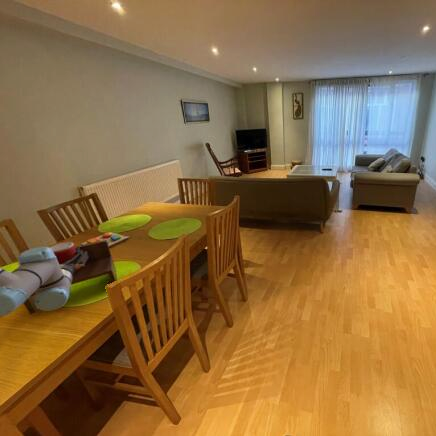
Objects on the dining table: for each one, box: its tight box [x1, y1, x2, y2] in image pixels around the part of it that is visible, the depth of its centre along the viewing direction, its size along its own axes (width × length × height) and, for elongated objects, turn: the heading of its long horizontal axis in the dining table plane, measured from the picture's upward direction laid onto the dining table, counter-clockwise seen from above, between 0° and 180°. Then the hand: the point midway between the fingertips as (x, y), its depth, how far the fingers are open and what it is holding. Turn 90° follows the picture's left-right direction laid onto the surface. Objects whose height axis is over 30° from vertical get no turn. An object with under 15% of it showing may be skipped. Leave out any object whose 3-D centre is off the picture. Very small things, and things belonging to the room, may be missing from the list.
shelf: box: [23, 240, 118, 315], centre depth 102 cm, size 28×16×17 cm, turn 126°
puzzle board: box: [80, 231, 130, 248], centre depth 146 cm, size 18×19×4 cm
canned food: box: [49, 241, 80, 271], centre depth 99 cm, size 8×8×11 cm
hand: (66, 252), depth 103 cm, fingers closed on canned food, 8 cm apart
